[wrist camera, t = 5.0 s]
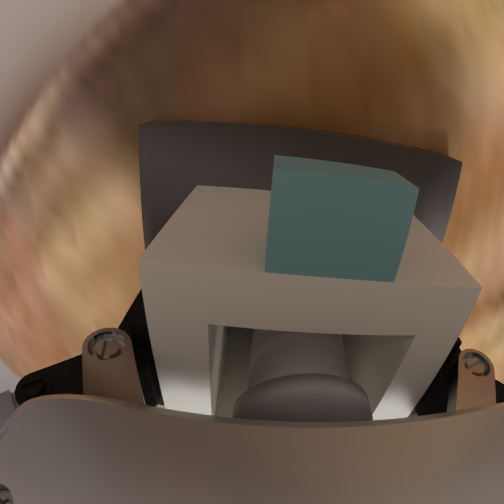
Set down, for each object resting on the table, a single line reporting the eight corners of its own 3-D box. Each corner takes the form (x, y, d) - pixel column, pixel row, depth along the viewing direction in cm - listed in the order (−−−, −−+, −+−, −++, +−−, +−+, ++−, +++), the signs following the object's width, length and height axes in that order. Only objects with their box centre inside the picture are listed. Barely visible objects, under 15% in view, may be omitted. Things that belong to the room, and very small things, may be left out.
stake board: (150, 121, 10) (2, 169, 4) (449, 156, 10) (587, 235, 3) (167, 354, 15) (126, 475, 9) (378, 368, 15) (408, 487, 8)
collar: (198, 130, 9) (129, 161, 5) (415, 156, 9) (509, 209, 4) (200, 345, 13) (175, 443, 9) (358, 356, 13) (379, 452, 9)
